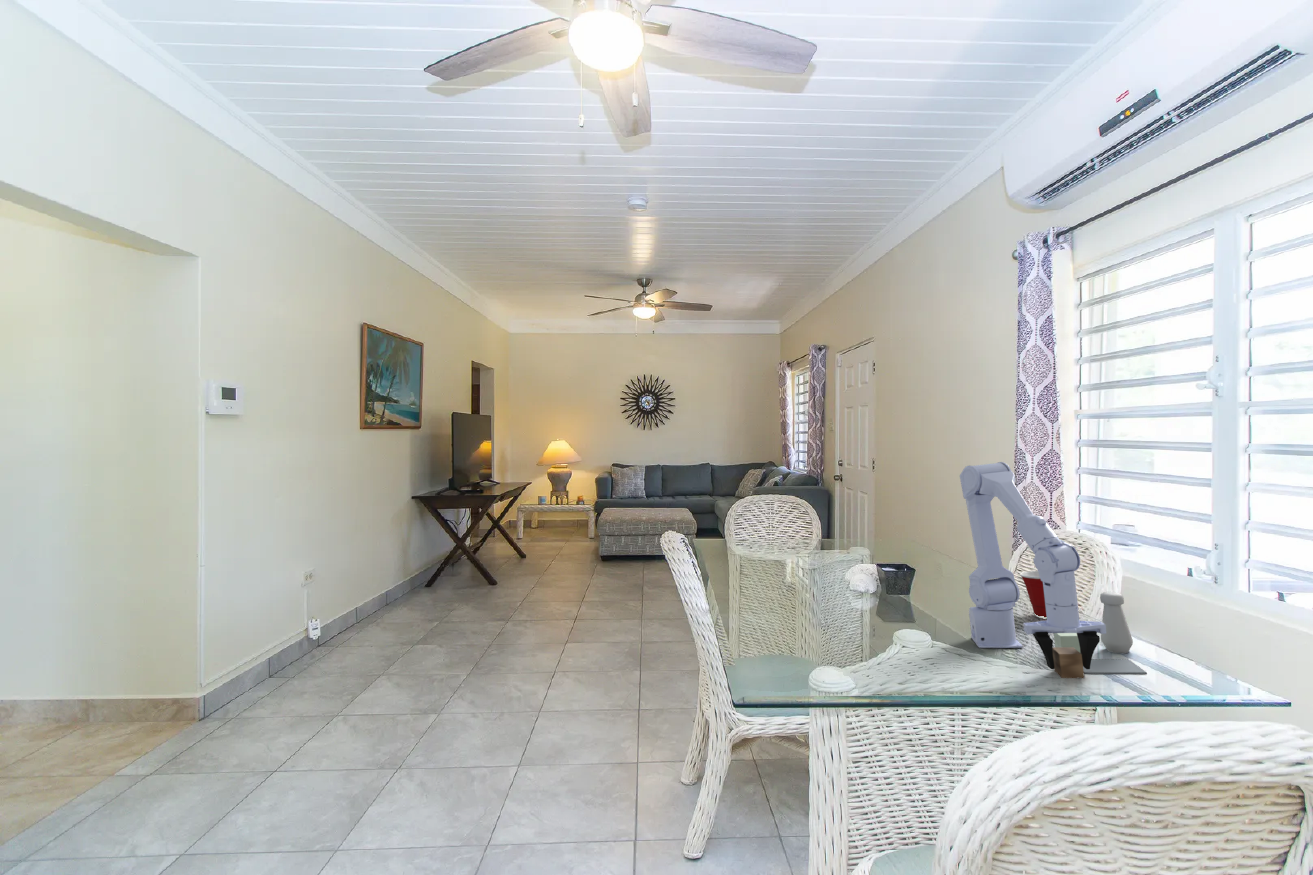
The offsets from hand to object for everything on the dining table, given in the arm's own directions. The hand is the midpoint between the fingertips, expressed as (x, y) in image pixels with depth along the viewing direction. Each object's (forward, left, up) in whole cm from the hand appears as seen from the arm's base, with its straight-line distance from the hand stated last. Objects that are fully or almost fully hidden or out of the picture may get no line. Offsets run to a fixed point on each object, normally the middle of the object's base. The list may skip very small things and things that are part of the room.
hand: (1068, 667), depth 124 cm
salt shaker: (+14, +14, -2) cm, 20 cm away
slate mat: (+8, +4, -1) cm, 9 cm away
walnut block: (0, 0, -2) cm, 2 cm away
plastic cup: (+9, +39, -2) cm, 40 cm away
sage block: (+4, +11, -2) cm, 12 cm away
